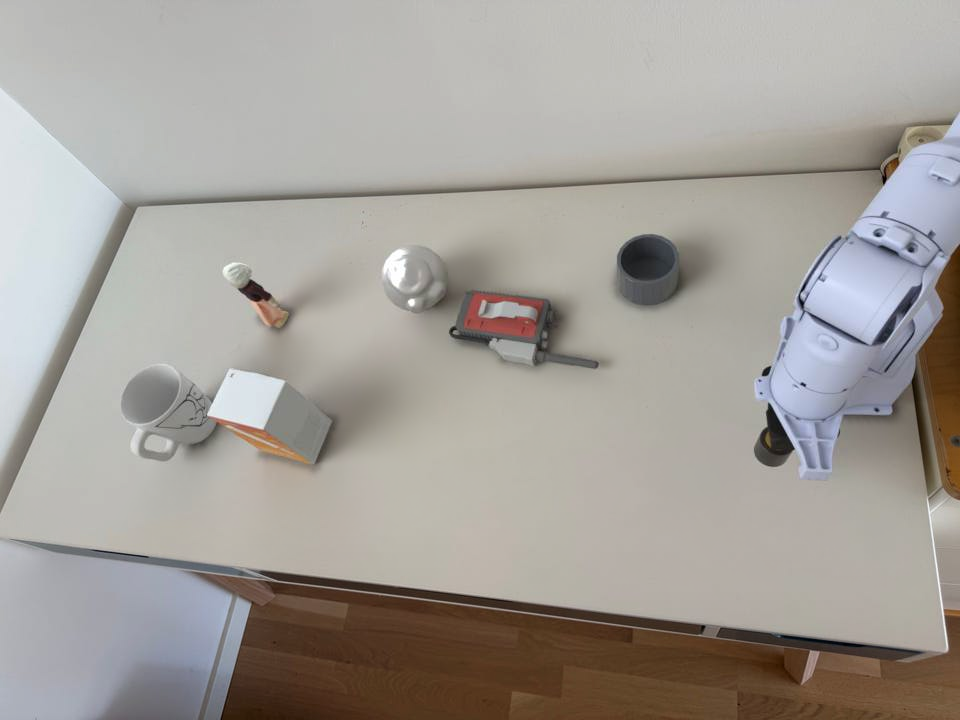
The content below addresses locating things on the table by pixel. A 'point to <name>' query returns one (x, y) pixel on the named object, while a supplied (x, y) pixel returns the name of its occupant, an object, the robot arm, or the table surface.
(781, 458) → the brush
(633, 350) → the table surface
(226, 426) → the small box
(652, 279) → the cylindrical container
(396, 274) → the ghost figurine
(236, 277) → the grandmother figurine
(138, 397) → the mug
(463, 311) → the walkie-talkie
